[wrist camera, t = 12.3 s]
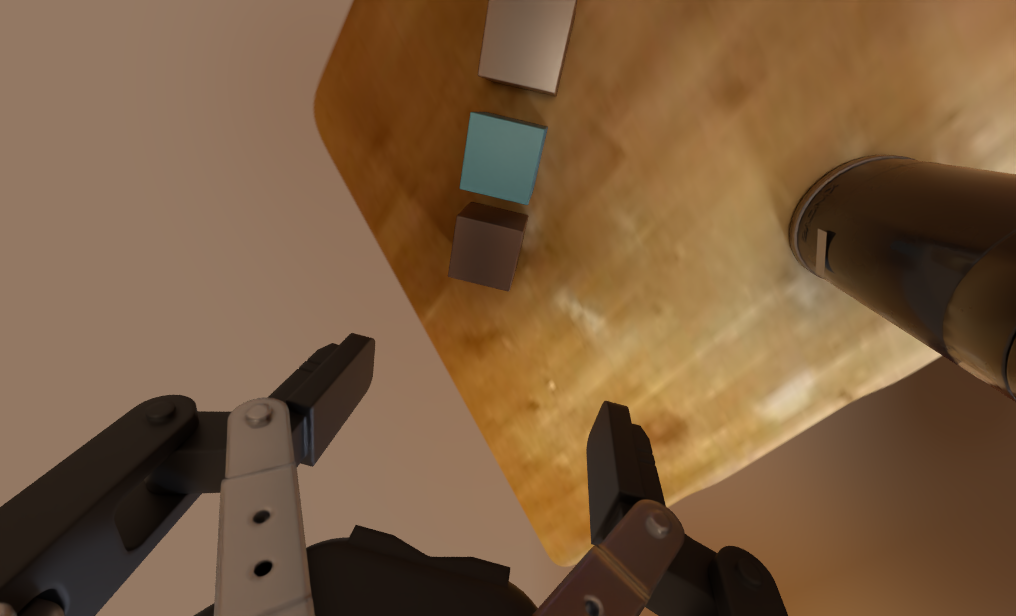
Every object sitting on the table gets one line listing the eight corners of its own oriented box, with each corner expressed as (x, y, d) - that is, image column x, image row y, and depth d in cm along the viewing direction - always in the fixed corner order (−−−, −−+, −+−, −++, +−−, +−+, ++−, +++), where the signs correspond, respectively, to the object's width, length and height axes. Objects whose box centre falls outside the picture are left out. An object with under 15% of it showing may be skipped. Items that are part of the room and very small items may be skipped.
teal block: (547, 126, 30) (545, 129, 26) (532, 192, 32) (527, 205, 28) (484, 111, 30) (470, 111, 26) (473, 178, 33) (459, 188, 28)
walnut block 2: (528, 215, 33) (523, 231, 29) (516, 269, 36) (509, 291, 31) (471, 201, 33) (456, 215, 29) (462, 256, 36) (447, 276, 31)
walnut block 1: (575, 14, 27) (577, -5, 22) (556, 96, 29) (555, 93, 25) (503, -2, 27) (492, -25, 23) (490, 80, 29) (477, 75, 25)
